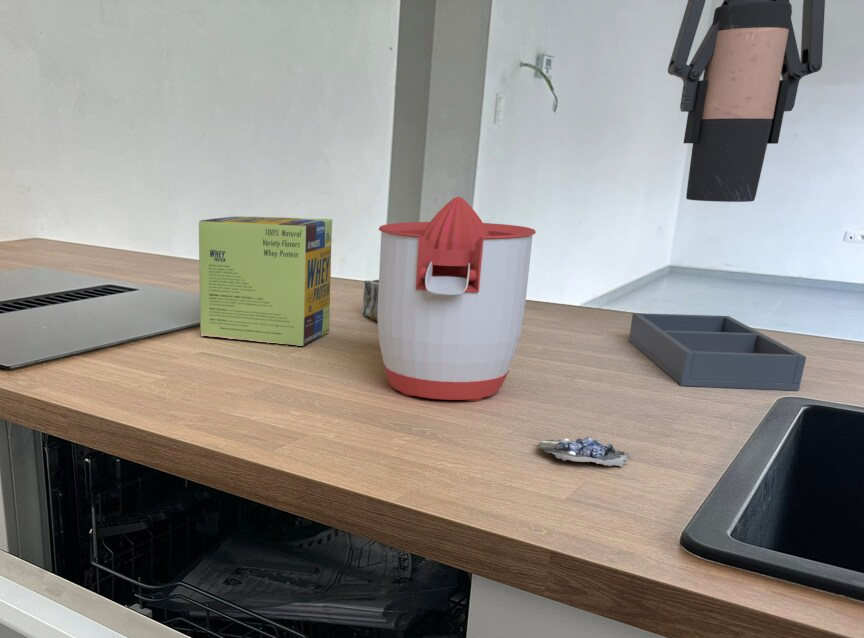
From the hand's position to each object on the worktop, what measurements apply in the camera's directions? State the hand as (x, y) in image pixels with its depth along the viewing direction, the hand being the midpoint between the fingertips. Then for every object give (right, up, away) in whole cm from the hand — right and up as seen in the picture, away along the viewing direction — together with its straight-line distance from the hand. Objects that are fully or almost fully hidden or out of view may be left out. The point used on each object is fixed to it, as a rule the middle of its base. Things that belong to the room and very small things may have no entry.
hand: (729, 143), depth 97 cm
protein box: (-52, -19, +22) cm, 60 cm away
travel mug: (0, -6, +2) cm, 6 cm away
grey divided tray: (+1, -24, +7) cm, 25 cm away
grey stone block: (-31, -17, +28) cm, 45 cm away
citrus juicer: (-33, -28, -5) cm, 44 cm away
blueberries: (-25, -35, -24) cm, 50 cm away
